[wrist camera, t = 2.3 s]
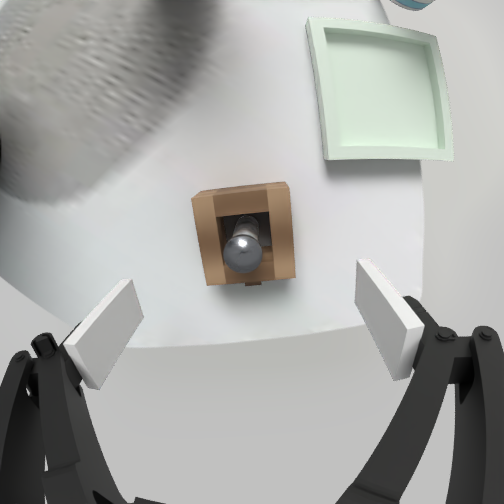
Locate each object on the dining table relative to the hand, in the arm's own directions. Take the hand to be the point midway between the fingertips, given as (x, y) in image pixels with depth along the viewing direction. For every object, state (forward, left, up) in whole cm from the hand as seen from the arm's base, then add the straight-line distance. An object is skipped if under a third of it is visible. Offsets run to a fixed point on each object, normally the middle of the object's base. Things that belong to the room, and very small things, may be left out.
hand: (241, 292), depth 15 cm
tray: (+15, +13, -13) cm, 23 cm away
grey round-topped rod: (0, 0, -13) cm, 13 cm away
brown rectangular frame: (0, 0, -13) cm, 13 cm away
